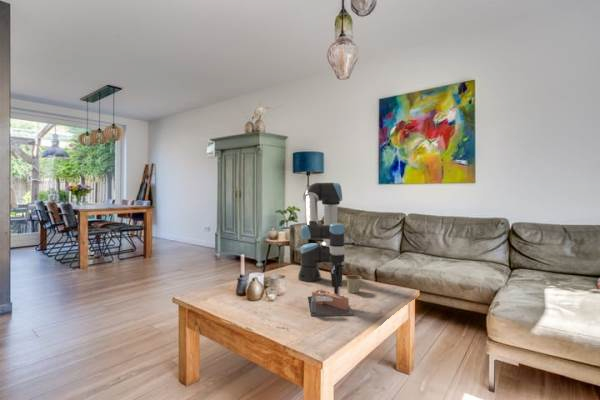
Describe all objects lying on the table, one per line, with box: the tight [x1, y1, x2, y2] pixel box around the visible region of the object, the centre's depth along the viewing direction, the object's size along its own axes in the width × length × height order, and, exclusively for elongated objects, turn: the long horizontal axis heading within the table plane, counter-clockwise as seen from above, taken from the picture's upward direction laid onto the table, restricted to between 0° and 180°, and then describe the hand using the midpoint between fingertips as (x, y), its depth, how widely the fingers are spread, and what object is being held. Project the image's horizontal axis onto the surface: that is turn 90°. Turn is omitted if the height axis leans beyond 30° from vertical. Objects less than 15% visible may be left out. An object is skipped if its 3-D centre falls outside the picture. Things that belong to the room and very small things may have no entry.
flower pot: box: [345, 274, 363, 294], centre depth 181 cm, size 9×9×9 cm
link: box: [311, 288, 350, 310], centre depth 159 cm, size 19×7×5 cm, turn 49°
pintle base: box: [307, 288, 354, 317], centre depth 159 cm, size 24×20×8 cm
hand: (337, 299), depth 159 cm, fingers closed
